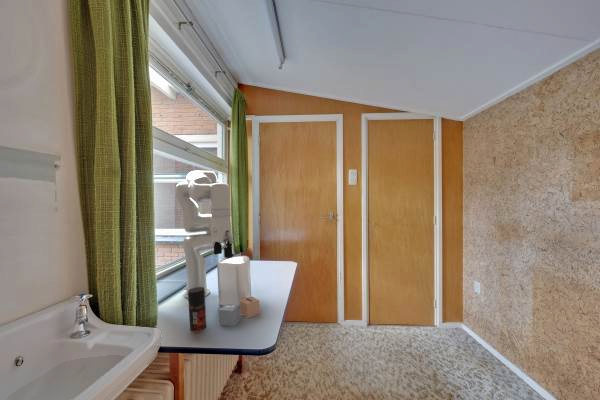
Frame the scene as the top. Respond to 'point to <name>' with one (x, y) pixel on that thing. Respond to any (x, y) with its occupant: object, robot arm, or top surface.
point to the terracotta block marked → (249, 307)
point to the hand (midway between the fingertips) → (223, 255)
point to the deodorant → (197, 309)
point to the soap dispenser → (233, 280)
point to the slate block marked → (229, 314)
